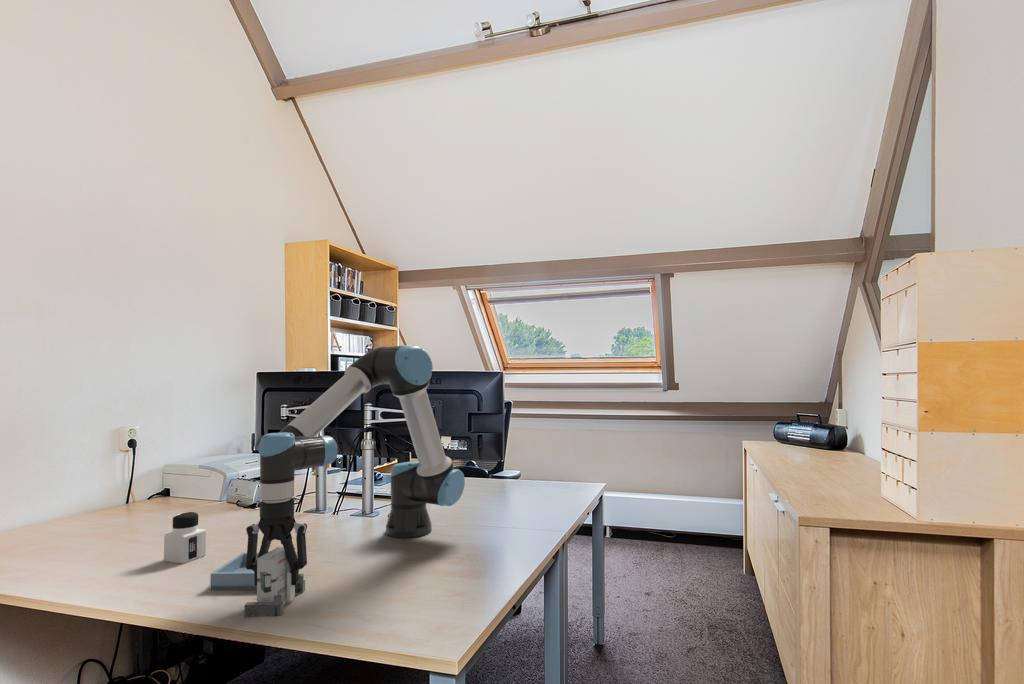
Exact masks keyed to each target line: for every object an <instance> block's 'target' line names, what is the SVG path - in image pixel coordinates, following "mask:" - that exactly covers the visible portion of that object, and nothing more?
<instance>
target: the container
mask: <svg viewBox="0 0 1024 684" xmlns="http://www.w3.org/2000/svg"><path fill="white" fill-rule="evenodd" d="M206 547H207V530H206V529H204V528H203V529H202V528H199V513H198V512H195V511H186V512H180V513H177V514H175V515H173V516H172V531H171V532H168V533H165V534H164V535H163V561H164V562H167V563H175V564H182V565H184V564H187V563H190V562H192V561H195V560H198V559H200V558H202V557H205V556H206V555H207V554H206V551H207V548H206Z"/></svg>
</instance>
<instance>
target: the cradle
mask: <svg viewBox="0 0 1024 684" xmlns="http://www.w3.org/2000/svg"><path fill="white" fill-rule="evenodd" d="M304 577H305V576H304V573H299V581H298V583H297V584H296V585H295V594H302V593H304V592H305V591H306V579H305V578H304ZM283 614H284V605H283V602H281V595H276V596H274V602H257V601H251V602H250V601H248V602H246V603H245V604H244V615H243V616H244V617H282V615H283Z"/></svg>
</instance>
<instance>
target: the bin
mask: <svg viewBox="0 0 1024 684" xmlns="http://www.w3.org/2000/svg"><path fill="white" fill-rule="evenodd" d="M295 552H296V555H297V551H295ZM258 554H259V552H257V555H256V560H257V557H258ZM246 559H247V552H241V553H239V554H238V555H236V556H235V557H233V558H232V559H231V560H229V561H228V562H226V563H224V564H223V565H221V566H220V567H218V568H217V569H215V570H214V571H212V572H211V573H210V591H243V590H244V591H248V590H249V591H251V590H253V591H255V590H256V591H257V586H255V584H254V571H253V570H251V569H249V570H248V569H246ZM297 559H298V557H297Z"/></svg>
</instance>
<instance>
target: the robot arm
mask: <svg viewBox="0 0 1024 684" xmlns="http://www.w3.org/2000/svg"><path fill="white" fill-rule="evenodd" d="M433 368H434V367H433V361H432V358H431V357H430V354H429V353H428V352H427V351H426V350H425V349H423V348H422V347H420V346H417V345H406V344H405V345H399V346H398V345H397V346H396V345H395V346H380V347H379V346H378V347H376V348H374V349H371V350H370V351H368V352H366V353H364V354H362V356H360V357H359V358H357V360H355V361H353V362H352V363H351V364H350V365H349V366H348V367H347V368H345V371H344V375H343V376H341V378H339V379H338V380H337V381H336V382H335V383H333V385H332V386H330V387H329V388H328V389H327V390H326V391H325V392H324V393H322V394H321V395H320V396H318V398H317V399H315V400H314V401H313V402H311V404H310V405H309V406H307V407H306V408H305V409H304V410H303V411H302V412H301V413H299V415H297V416H296V417H295V418H294V419H293V420H291V422H289V423H288V424H287V425H286V426H285V427H283V428H282V429H281V430H280V431H279V432H270V433H266V434H264V435H262V437H261V438H260V439H261V440H260V442H259V445H258V453H259V458H260V459H259V465H260V466H259V479H260V481H259V483H260V484H259V499H260V500H261V501H260V502H259V521H258V523H256V524H255V523H253V524H250V525H249V526H246V529H245V530H246V534H247V546H246V547H247V549H246V553H247V559H246V569H248V570H249V569H251V570H253V571H254V584H255V586H257V560H256V555H257V553H259V554H258V557H257V558H259V557H261V556H262V555H264V554H266V553H268V552H269V550H270V547H271V544H272V541H276V540H277V541H280V544H281V545H282V547H284V551H285V554H286V557H287V560H288V564H289V567H290V571H288V572H287V602H291V601H292V600H293V599H294V598H295V596H296V593H295V585H296V584H297V583H298V581H299V574H300V573H299V572H300V570H302V569H304V568H305V567H306V566H307V564H308V558H307V556H308V555H307V553H308V552H307V542H306V541H307V540H306V539H307V538H306V532H307V529H308V524H307V523H299V522H297V521H296V518H295V499H294V496H295V475H296V474H295V473H296V471H300V470H307V469H312V468H313V469H314V468H318V467H324V466H327V465H331V464H333V463H334V462H335V461H336V459H337V457H338V454H339V453H338V443H337V442H336V440H335V438H334V437H332V436H330V435H319V434H320V433H321V432H322V431H323V430H325V428H326V427H327V426H328V425H329V424H331V423H332V422H333V421H334V420H335V419H336V418H337V417H338V416H339V415H340V414H341V413H342V412H344V411H345V409H347V408H348V407H349V406H350V405H351V404H352V403H354V401H355V400H356V399H358V398H359V397H360V396H361V395H362V394H367V393H368V392H370V391H371V390H372V389H373V388H375V387H377V386H381V385H389V388H390V390H391V393H392V395H393V396H394V397H396V398H398V400H399V403H400V406H401V408H402V412H403V416H404V419H405V421H406V425H407V429H408V431H409V435H410V438H411V442H412V445H413V448H414V451H415V454H416V457H417V460H413V461H404V462H399V463H395V464H393V466H391V472H390V512H389V514H388V518H387V521H386V524H385V535H387V536H389V537H393V538H399V539H401V538H403V539H406V538H416V537H420V536H425V535H427V534H429V533H430V532H431V531H432V530H433V528H432V527H433V526H432V525H433V523H432V521H431V518H430V514H429V512H428V508H427V504H430V505H435V506H436V505H437V506H440V507H443V506H445V507H451V506H453V505H455V504H456V503H457V502H458V501H459V500H460V499H461V497H462V495H463V492H464V490H465V485H466V484H465V483H466V481H465V480H466V479H465V475H464V472H463V471H461V470H460V469H459V468H455V467H454V465H453V461H452V458H450V457H449V456H447V455H446V454H445V450H444V446H443V443H442V440H441V436H440V433H439V429H438V426H437V423H436V418H435V415H434V412H433V409H432V405H431V401H430V398H429V394H428V392H427V389H428V388H429V386H430V379H431V378H432V375H433V372H432V371H433V370H434V369H433ZM293 529H294V532H295V534H296V548H295V546H294V542H293V536H292V531H293ZM259 532H261V533H262V534H263V535H262V536H263V537H262V540H261V545H260V549H259V552H258V539H259ZM294 548H295V549H294ZM296 552H297V555H296ZM297 557H298V559H297Z"/></svg>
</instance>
